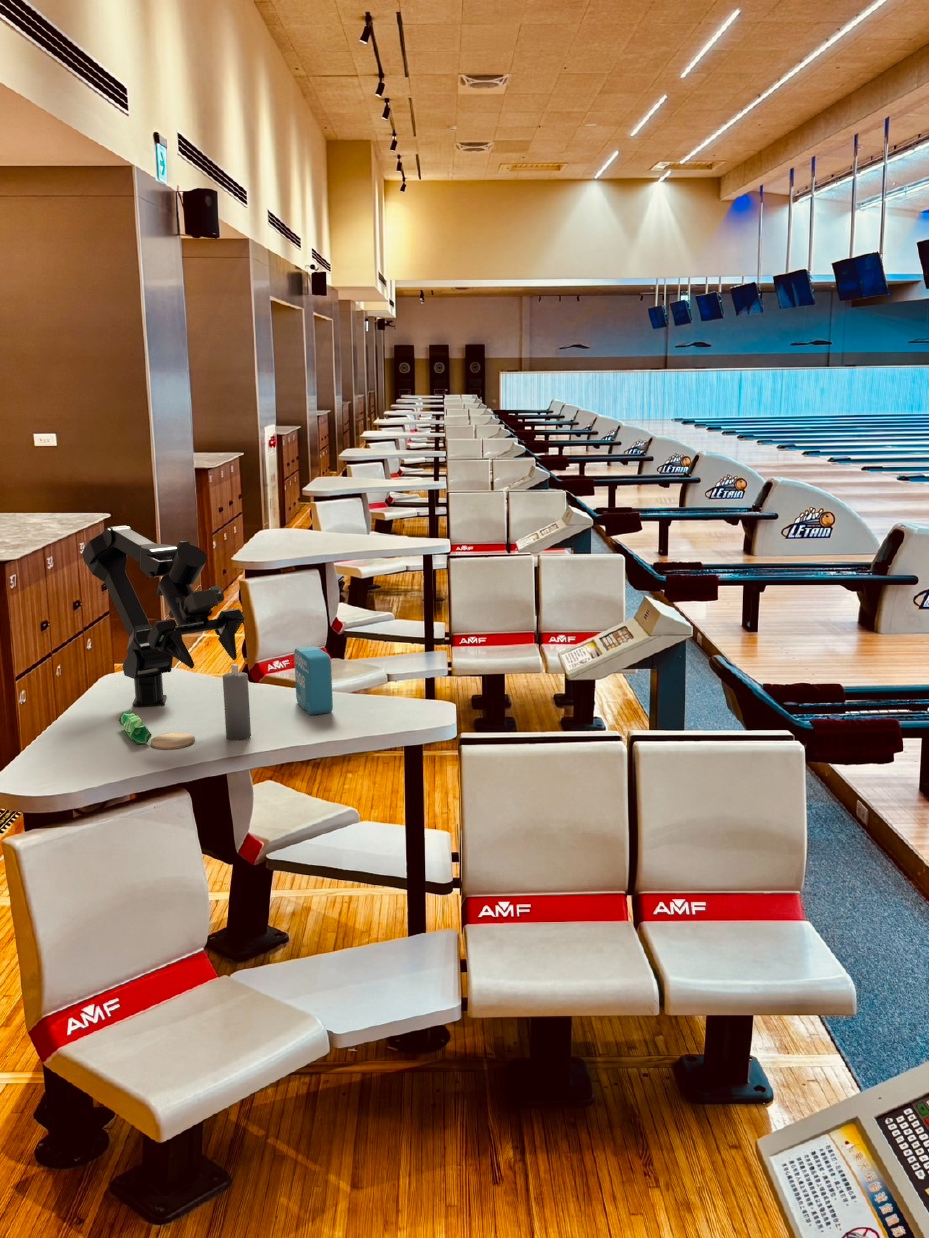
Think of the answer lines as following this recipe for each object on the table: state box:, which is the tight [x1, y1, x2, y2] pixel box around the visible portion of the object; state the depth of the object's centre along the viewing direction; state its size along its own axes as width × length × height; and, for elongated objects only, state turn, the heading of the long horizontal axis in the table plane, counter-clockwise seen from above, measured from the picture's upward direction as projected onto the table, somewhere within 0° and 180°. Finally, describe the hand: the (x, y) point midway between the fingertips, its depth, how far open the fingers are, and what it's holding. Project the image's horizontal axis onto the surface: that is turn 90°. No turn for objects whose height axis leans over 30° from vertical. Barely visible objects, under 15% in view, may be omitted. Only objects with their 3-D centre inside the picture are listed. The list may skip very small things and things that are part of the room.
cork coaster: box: [150, 732, 196, 750], centre depth 211 cm, size 8×8×1 cm
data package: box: [293, 645, 334, 716], centre depth 232 cm, size 12×4×12 cm, turn 23°
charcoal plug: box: [222, 663, 252, 741], centre depth 213 cm, size 5×5×14 cm
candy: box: [117, 711, 152, 745], centre depth 215 cm, size 12×3×4 cm
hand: (214, 663), depth 217 cm, fingers open, 9 cm apart
